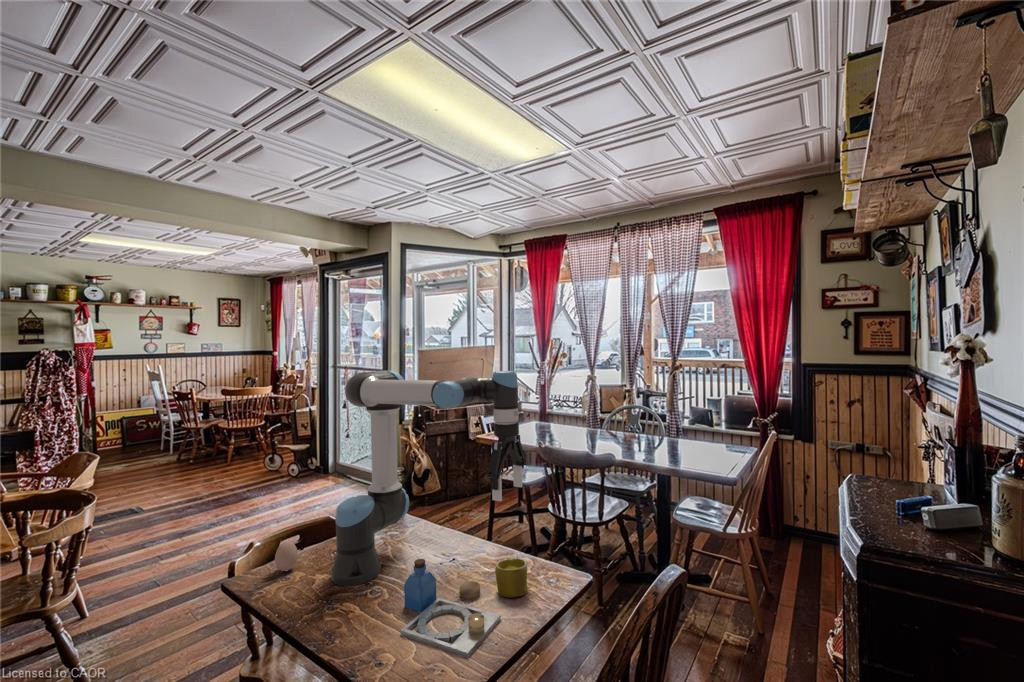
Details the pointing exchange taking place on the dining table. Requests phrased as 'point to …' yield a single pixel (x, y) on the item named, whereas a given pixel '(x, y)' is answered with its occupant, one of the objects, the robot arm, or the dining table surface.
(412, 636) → the plate
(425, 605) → the perfume bottle
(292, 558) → the egg
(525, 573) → the mug
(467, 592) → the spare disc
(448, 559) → the dining table surface
